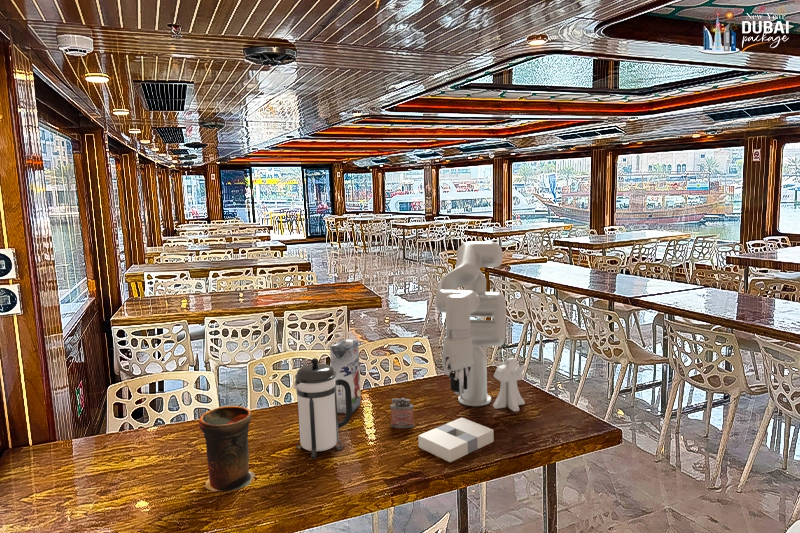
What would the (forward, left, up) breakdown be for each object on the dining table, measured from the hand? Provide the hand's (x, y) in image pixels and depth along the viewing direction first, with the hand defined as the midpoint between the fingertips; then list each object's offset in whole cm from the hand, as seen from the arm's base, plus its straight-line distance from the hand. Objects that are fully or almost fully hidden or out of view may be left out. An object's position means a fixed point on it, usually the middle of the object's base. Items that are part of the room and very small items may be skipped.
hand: (459, 389), depth 182 cm
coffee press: (-29, -34, -18) cm, 48 cm away
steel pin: (0, 0, -1) cm, 1 cm away
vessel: (-30, -65, -18) cm, 74 cm away
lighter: (-23, -5, -18) cm, 29 cm away
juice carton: (-49, -10, -18) cm, 53 cm away
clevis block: (0, -2, -18) cm, 18 cm away
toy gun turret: (-9, +35, -18) cm, 40 cm away
